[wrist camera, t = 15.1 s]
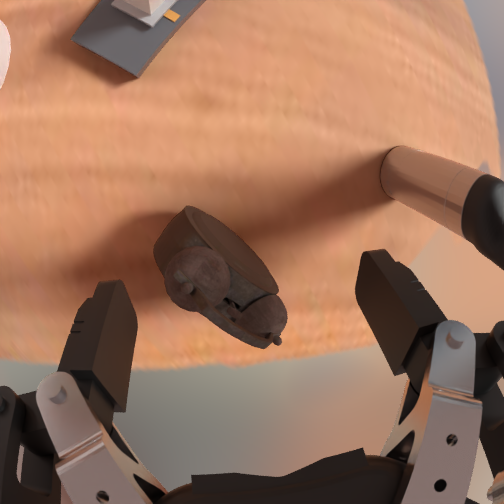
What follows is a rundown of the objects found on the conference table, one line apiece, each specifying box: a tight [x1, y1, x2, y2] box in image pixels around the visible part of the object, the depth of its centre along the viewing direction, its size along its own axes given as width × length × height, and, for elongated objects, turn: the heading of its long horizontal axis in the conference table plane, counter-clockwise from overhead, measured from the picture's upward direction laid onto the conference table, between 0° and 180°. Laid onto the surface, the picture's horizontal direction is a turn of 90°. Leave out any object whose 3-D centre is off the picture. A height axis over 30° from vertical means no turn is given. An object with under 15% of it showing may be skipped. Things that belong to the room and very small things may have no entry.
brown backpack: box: [153, 206, 288, 349], centre depth 33 cm, size 14×7×20 cm, turn 45°
